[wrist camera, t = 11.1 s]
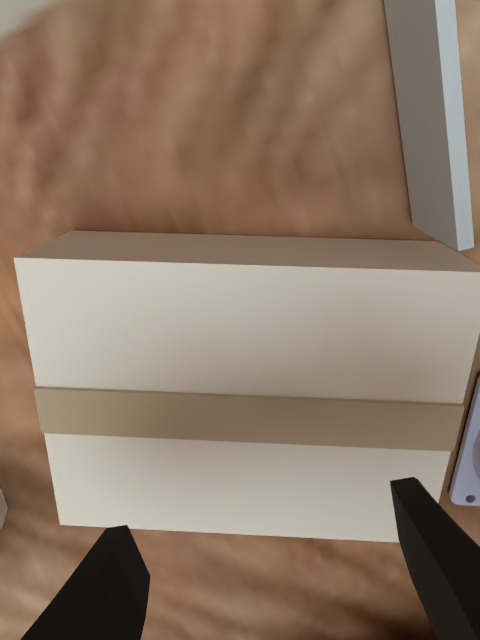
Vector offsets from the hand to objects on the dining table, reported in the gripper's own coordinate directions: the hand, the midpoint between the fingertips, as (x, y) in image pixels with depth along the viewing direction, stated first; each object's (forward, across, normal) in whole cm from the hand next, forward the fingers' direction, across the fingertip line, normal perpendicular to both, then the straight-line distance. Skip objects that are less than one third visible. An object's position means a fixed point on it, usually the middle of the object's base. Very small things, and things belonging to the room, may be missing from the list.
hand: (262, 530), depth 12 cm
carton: (+10, 0, 0) cm, 10 cm away
